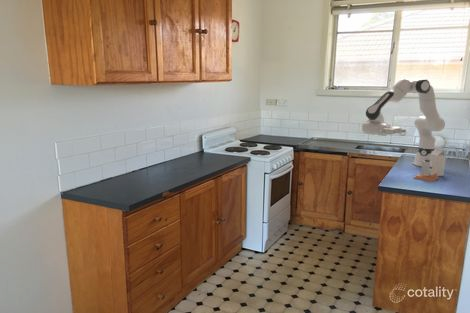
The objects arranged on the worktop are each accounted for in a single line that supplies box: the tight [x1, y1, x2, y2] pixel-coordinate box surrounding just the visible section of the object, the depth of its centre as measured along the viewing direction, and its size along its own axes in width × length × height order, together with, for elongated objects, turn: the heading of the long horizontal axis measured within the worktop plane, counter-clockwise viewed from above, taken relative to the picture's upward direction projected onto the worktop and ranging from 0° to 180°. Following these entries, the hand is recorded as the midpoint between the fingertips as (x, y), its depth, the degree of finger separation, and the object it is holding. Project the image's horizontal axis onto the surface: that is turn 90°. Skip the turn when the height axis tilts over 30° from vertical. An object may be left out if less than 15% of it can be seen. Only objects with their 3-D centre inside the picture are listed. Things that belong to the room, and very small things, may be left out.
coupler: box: [413, 172, 439, 182], centre depth 263 cm, size 14×12×4 cm
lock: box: [420, 159, 432, 178], centre depth 261 cm, size 5×6×12 cm
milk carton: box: [430, 147, 447, 177], centre depth 272 cm, size 7×7×19 cm
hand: (403, 131), depth 273 cm, fingers open, 8 cm apart
